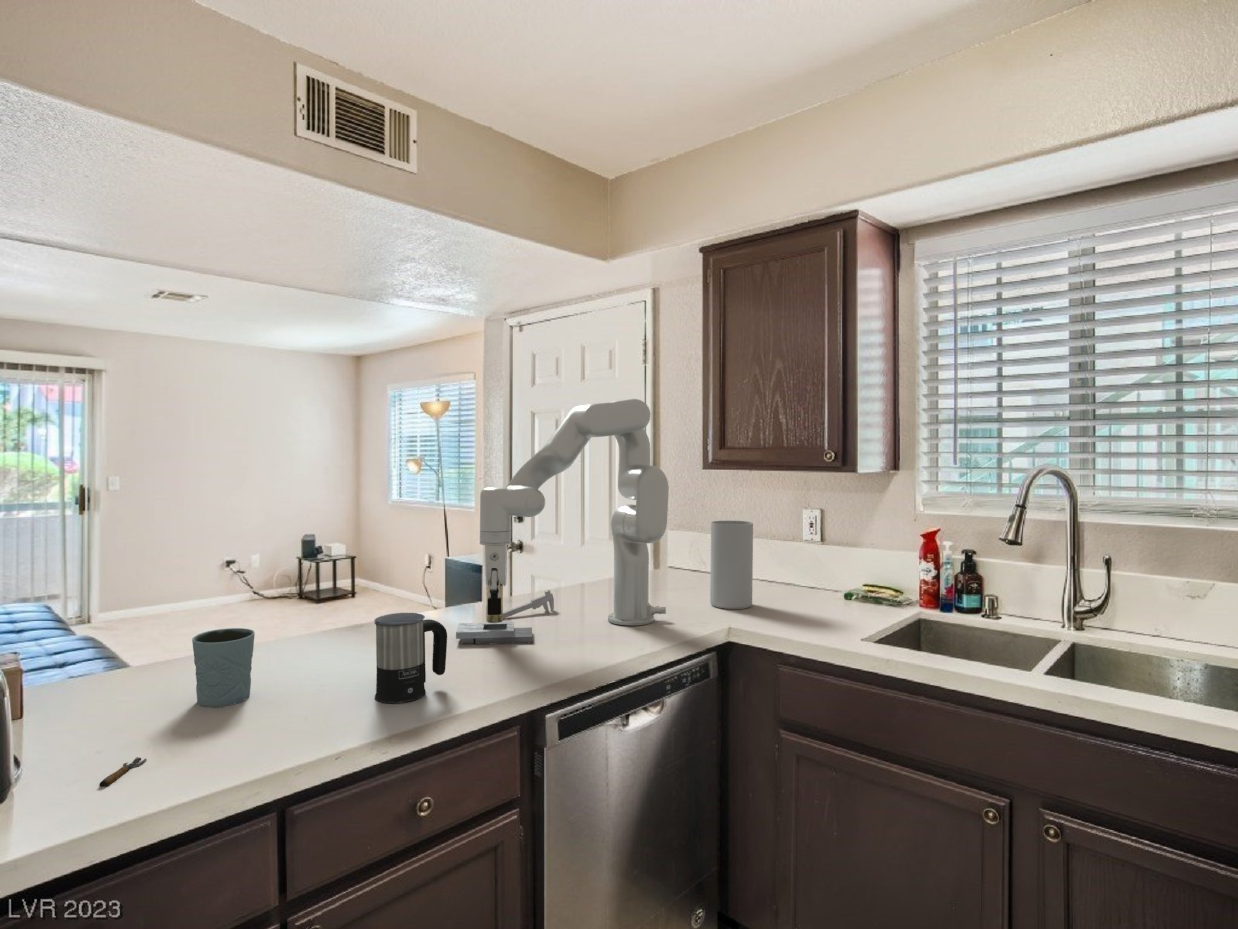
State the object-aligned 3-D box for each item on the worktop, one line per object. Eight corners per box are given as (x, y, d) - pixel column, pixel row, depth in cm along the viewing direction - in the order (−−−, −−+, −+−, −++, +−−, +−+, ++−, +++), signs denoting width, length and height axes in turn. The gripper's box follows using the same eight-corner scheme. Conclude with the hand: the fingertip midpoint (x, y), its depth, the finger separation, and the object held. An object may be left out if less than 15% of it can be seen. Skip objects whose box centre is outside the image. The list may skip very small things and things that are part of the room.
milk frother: (396, 708, 128) (396, 626, 128) (340, 692, 136) (340, 614, 136) (454, 686, 140) (454, 611, 140) (399, 672, 148) (400, 601, 148)
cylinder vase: (755, 610, 209) (756, 524, 208) (712, 609, 209) (713, 524, 208) (748, 601, 221) (749, 520, 221) (708, 600, 221) (708, 520, 221)
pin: (502, 619, 177) (503, 578, 177) (502, 622, 173) (502, 581, 173) (486, 619, 177) (486, 579, 176) (485, 623, 173) (486, 581, 172)
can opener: (106, 789, 97) (106, 781, 97) (89, 789, 98) (89, 780, 98) (151, 761, 106) (151, 753, 106) (136, 761, 107) (136, 753, 107)
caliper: (551, 610, 208) (551, 589, 208) (554, 611, 207) (554, 589, 207) (490, 621, 194) (490, 598, 194) (492, 622, 193) (492, 599, 193)
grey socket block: (531, 633, 181) (531, 621, 181) (532, 642, 172) (532, 630, 172) (459, 635, 178) (459, 623, 178) (456, 645, 169) (456, 632, 169)
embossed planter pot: (241, 686, 139) (240, 625, 139) (264, 698, 133) (264, 634, 132) (183, 700, 131) (183, 635, 131) (205, 713, 125) (205, 645, 125)
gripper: (510, 542, 167) (509, 620, 167) (511, 534, 183) (510, 605, 184) (477, 542, 166) (476, 620, 166) (481, 534, 182) (480, 605, 183)
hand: (494, 611), depth 175 cm, fingers closed on pin, 4 cm apart
